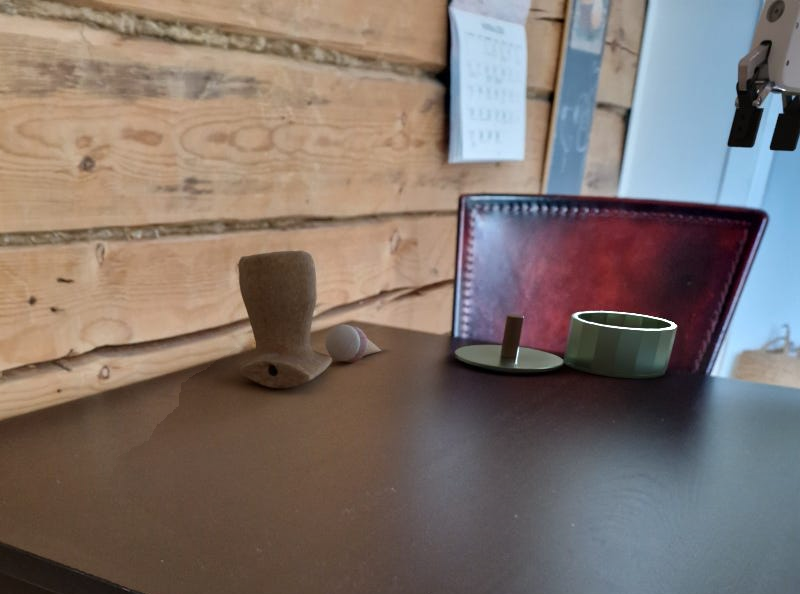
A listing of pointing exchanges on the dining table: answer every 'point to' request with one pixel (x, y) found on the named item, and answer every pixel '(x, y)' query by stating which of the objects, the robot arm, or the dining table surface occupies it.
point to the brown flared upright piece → (281, 317)
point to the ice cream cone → (348, 343)
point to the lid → (509, 353)
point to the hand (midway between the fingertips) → (761, 149)
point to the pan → (619, 344)
